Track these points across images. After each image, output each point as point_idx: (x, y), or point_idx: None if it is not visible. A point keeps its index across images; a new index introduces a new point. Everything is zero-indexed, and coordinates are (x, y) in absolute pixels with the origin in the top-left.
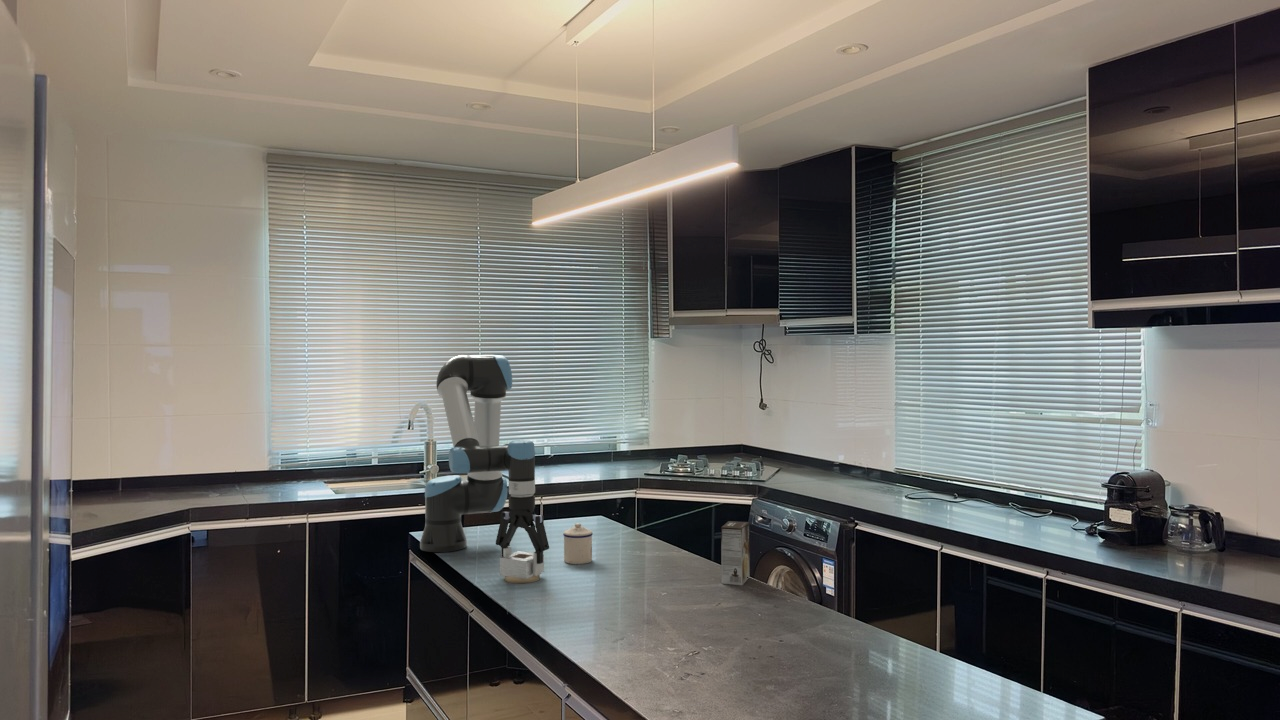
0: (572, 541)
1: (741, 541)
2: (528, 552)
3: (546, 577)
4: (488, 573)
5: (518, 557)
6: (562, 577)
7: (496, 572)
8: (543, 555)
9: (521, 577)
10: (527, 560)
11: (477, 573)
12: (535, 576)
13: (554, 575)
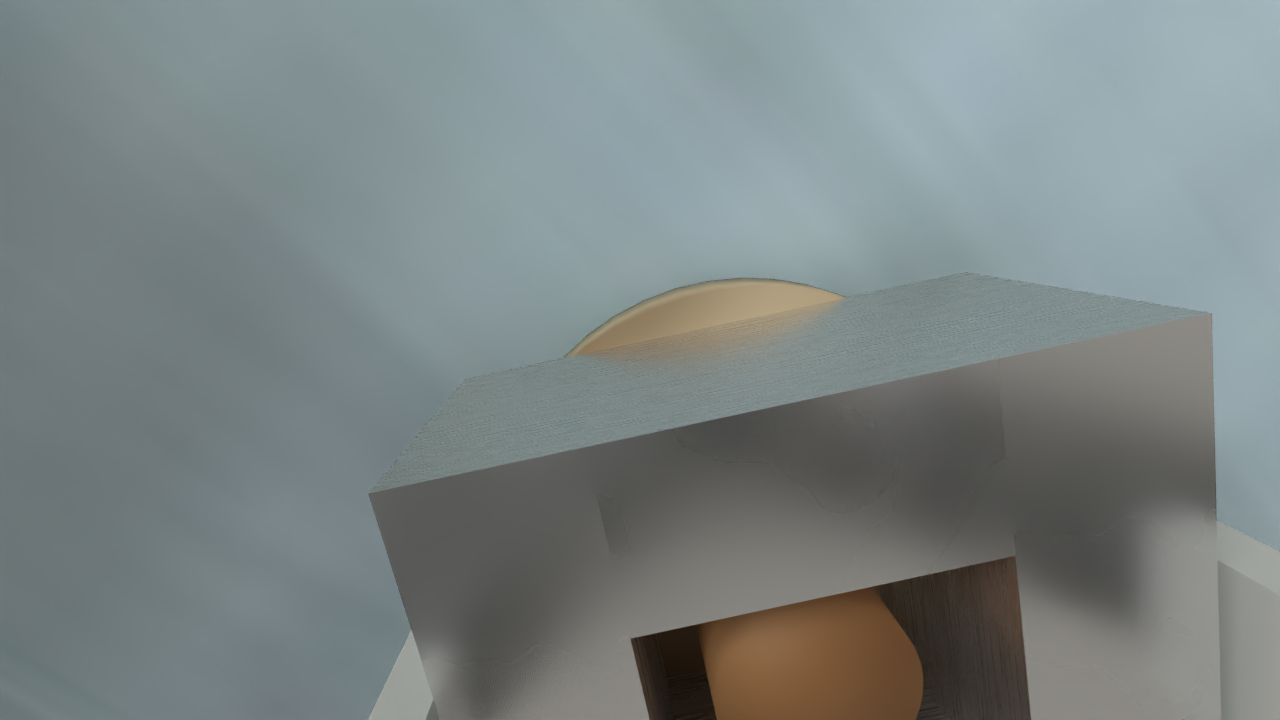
0: None
1: None
2: (721, 426)
3: (975, 263)
4: (166, 619)
5: (639, 646)
6: (1175, 114)
7: (201, 520)
8: (1192, 328)
9: None
10: None
11: (57, 707)
12: None
13: (1006, 104)
